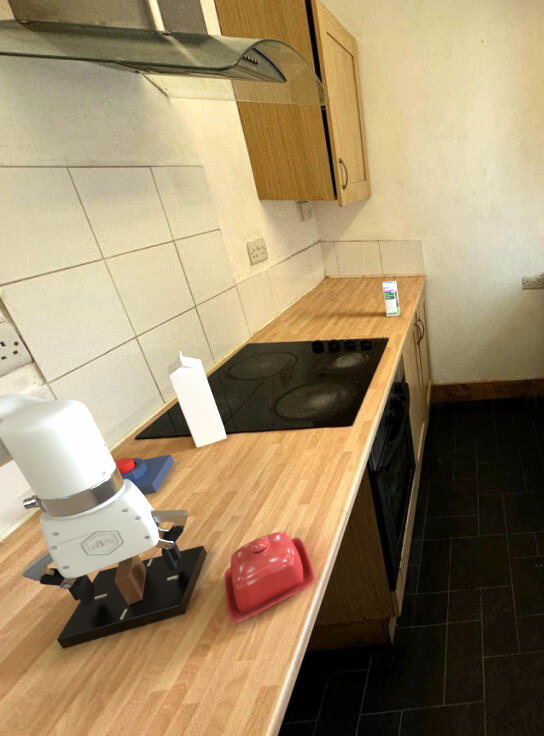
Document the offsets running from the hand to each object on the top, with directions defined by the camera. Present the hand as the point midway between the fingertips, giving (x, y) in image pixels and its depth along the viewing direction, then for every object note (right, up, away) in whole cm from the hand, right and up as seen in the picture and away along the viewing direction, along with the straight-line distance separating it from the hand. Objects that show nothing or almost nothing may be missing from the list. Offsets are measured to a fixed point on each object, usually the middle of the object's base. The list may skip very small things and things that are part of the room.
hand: (133, 580), depth 61 cm
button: (-23, +10, +23) cm, 34 cm away
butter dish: (+18, -2, +4) cm, 19 cm away
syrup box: (+4, +50, +122) cm, 132 cm away
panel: (0, -3, +2) cm, 4 cm away
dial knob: (0, -1, +1) cm, 2 cm away
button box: (-23, +7, +24) cm, 34 cm away
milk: (-17, +13, +39) cm, 44 cm away
